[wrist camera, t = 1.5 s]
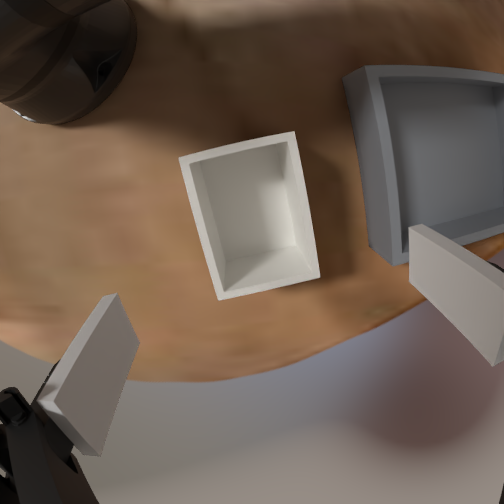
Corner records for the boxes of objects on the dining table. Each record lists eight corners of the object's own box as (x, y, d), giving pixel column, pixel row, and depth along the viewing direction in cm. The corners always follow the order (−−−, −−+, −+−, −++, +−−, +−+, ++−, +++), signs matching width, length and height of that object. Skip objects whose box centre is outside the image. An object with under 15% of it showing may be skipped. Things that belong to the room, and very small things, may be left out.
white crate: (192, 154, 26) (178, 157, 20) (279, 134, 26) (294, 131, 20) (221, 266, 30) (218, 300, 24) (301, 247, 30) (320, 277, 23)
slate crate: (341, 77, 25) (364, 65, 19) (489, 80, 24) (519, 77, 19) (368, 246, 30) (392, 266, 25) (501, 211, 30) (530, 223, 25)
